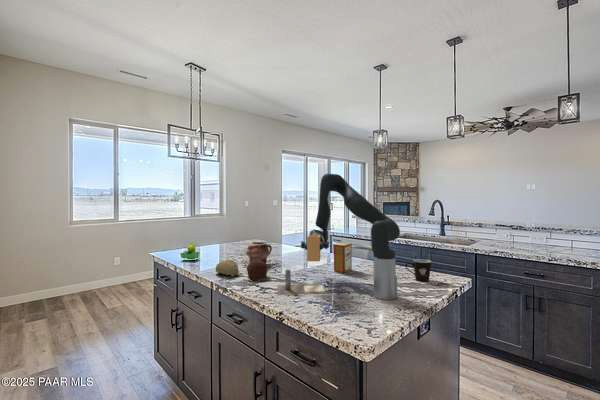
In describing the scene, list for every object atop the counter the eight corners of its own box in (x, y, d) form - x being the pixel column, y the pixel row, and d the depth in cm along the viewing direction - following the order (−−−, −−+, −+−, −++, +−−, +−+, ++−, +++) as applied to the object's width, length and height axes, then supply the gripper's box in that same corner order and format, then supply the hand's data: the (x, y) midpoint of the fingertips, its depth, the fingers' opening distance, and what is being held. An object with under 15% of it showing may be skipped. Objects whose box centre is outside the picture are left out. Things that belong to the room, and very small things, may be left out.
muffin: (242, 279, 161) (241, 261, 160) (258, 275, 169) (258, 257, 168) (256, 284, 152) (256, 264, 152) (273, 279, 161) (272, 260, 160)
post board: (323, 287, 147) (323, 265, 147) (327, 297, 133) (326, 273, 133) (277, 288, 146) (277, 266, 146) (276, 298, 132) (276, 274, 132)
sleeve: (308, 258, 143) (308, 235, 142) (320, 258, 142) (320, 235, 142) (307, 261, 137) (306, 236, 137) (319, 261, 136) (319, 237, 136)
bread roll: (223, 271, 180) (223, 257, 179) (243, 274, 172) (242, 260, 172) (211, 274, 171) (211, 260, 171) (231, 278, 164) (230, 263, 164)
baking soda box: (341, 268, 183) (341, 241, 183) (351, 269, 180) (351, 242, 179) (334, 271, 176) (333, 244, 175) (344, 273, 172) (344, 245, 171)
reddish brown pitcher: (264, 260, 207) (264, 239, 207) (277, 262, 199) (277, 241, 199) (241, 265, 192) (241, 243, 191) (254, 268, 184) (254, 245, 184)
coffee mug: (433, 279, 157) (433, 260, 157) (427, 283, 151) (427, 263, 151) (411, 275, 165) (411, 257, 165) (404, 279, 159) (404, 260, 159)
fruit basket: (179, 261, 207) (179, 244, 207) (186, 258, 216) (186, 242, 215) (195, 261, 205) (194, 244, 205) (201, 258, 214) (201, 242, 214)
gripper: (302, 234, 154) (297, 239, 138) (330, 234, 152) (329, 239, 136) (302, 248, 155) (297, 255, 138) (330, 249, 153) (329, 256, 136)
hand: (313, 247), depth 137 cm, fingers closed on sleeve, 5 cm apart
